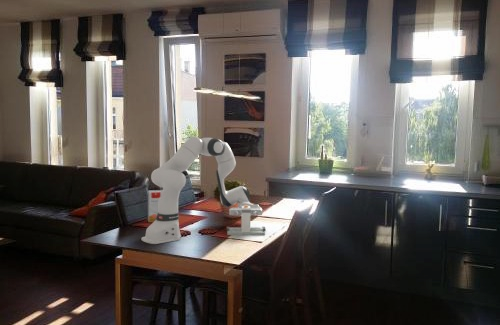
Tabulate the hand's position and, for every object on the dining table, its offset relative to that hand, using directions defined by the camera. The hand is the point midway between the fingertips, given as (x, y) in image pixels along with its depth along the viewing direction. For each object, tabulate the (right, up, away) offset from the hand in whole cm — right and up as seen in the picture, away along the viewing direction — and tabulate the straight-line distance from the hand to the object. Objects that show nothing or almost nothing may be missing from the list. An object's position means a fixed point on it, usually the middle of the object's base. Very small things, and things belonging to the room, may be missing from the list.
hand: (246, 214), depth 257 cm
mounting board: (0, -11, +1) cm, 11 cm away
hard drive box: (-57, -8, +27) cm, 64 cm away
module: (0, -10, +1) cm, 10 cm away
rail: (0, -10, +1) cm, 10 cm away
